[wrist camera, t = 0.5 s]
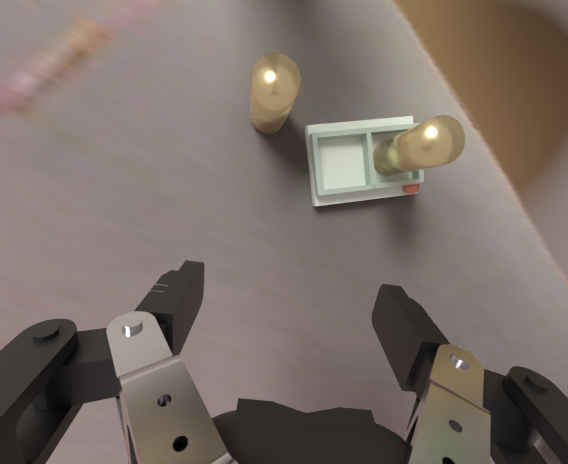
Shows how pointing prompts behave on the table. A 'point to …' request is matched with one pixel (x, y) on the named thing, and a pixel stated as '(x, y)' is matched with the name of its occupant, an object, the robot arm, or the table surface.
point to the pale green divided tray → (355, 161)
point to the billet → (273, 91)
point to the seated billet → (420, 147)
